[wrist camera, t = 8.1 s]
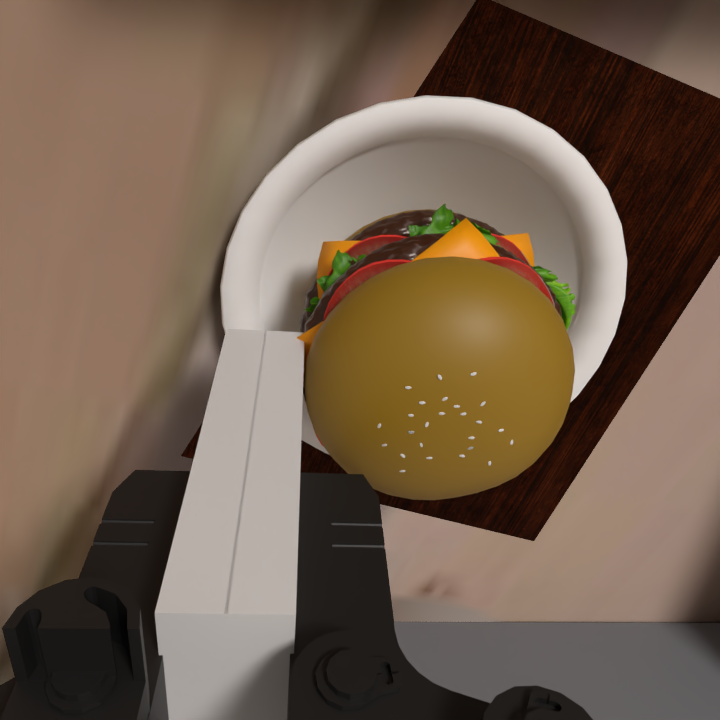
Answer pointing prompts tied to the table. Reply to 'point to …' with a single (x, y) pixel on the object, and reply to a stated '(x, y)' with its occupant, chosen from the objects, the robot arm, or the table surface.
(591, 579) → the table surface
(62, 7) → the table surface
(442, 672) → the box
